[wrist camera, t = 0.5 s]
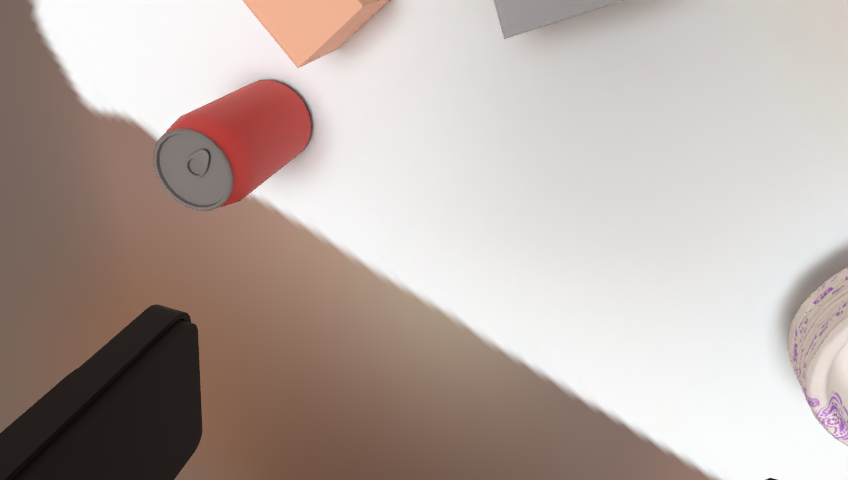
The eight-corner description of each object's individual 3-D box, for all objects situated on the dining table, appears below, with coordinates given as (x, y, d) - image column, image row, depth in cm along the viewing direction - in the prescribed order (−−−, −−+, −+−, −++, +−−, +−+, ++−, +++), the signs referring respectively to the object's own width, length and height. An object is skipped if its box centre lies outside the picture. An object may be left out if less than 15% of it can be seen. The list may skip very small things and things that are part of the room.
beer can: (329, 118, 46) (257, 173, 36) (286, 172, 49) (208, 236, 39) (265, 60, 45) (171, 99, 34) (226, 118, 48) (129, 170, 38)
